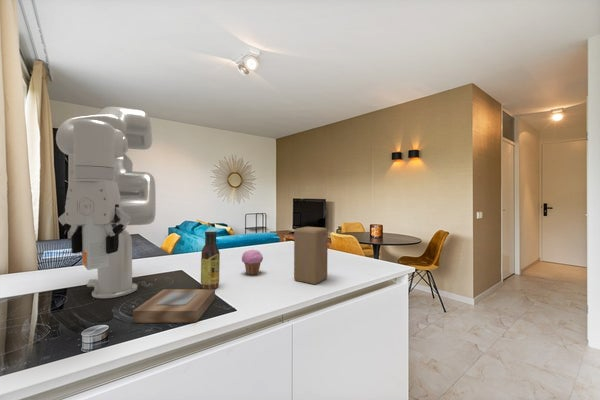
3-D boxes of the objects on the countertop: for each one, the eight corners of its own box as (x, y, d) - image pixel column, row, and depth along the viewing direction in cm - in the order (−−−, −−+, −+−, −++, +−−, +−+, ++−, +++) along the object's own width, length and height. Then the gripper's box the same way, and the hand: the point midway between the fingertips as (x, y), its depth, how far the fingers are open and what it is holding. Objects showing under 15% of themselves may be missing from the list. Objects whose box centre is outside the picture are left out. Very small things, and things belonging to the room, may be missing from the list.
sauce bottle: (213, 291, 93) (213, 232, 92) (197, 289, 94) (197, 232, 94) (222, 284, 99) (222, 230, 99) (207, 283, 100) (207, 229, 100)
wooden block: (328, 278, 107) (328, 227, 107) (315, 285, 99) (316, 230, 99) (306, 274, 113) (306, 226, 112) (293, 280, 104) (293, 228, 104)
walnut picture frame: (132, 322, 69) (132, 309, 69) (163, 298, 85) (163, 288, 85) (196, 322, 70) (196, 310, 70) (215, 298, 86) (215, 288, 86)
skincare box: (81, 265, 64) (81, 214, 64) (103, 262, 67) (103, 213, 67) (86, 270, 60) (86, 216, 60) (109, 266, 63) (109, 215, 63)
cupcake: (264, 275, 111) (264, 251, 110) (242, 277, 108) (242, 252, 108) (261, 270, 119) (261, 247, 119) (240, 271, 117) (240, 248, 117)
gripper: (41, 174, 59) (42, 255, 60) (122, 174, 59) (122, 256, 60) (70, 176, 67) (71, 248, 67) (142, 176, 67) (142, 249, 67)
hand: (95, 251), depth 63 cm, fingers closed on skincare box, 7 cm apart
